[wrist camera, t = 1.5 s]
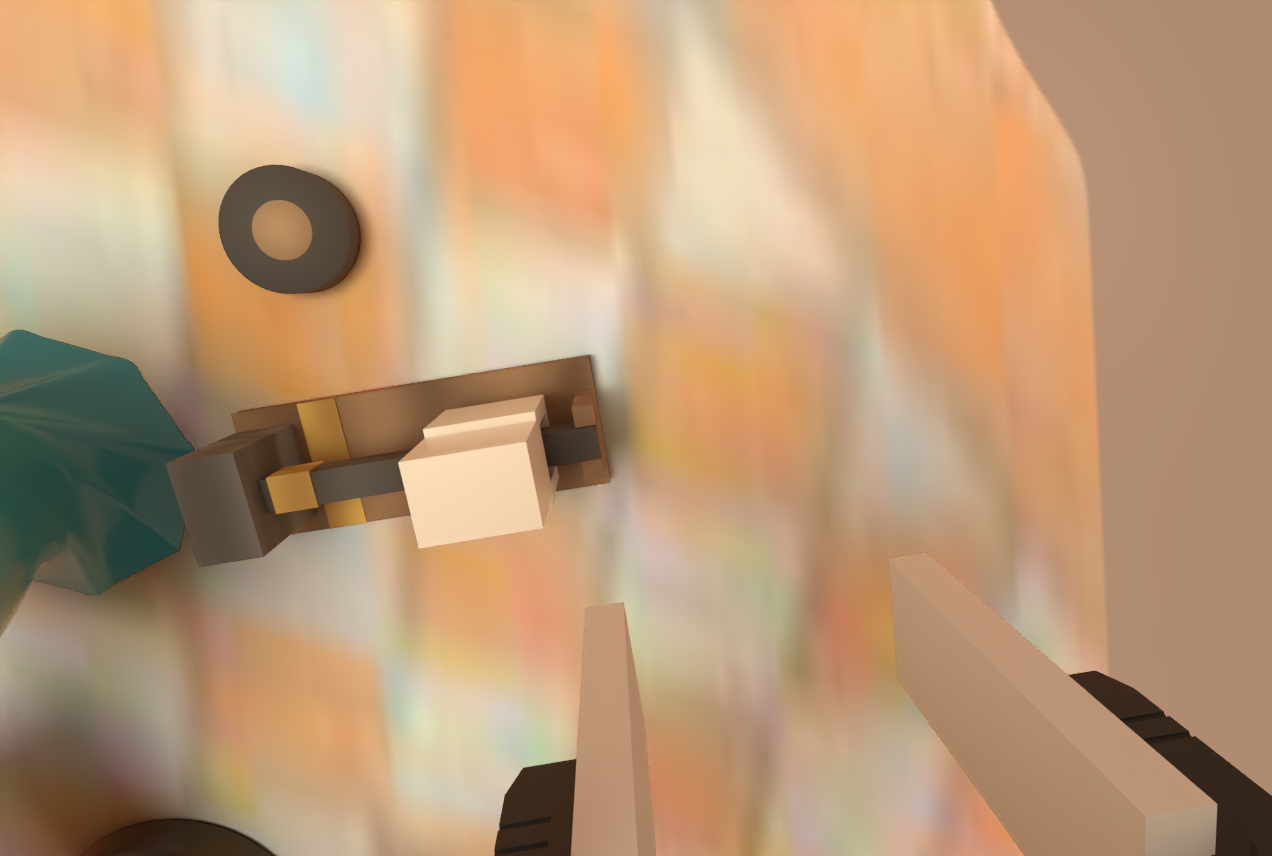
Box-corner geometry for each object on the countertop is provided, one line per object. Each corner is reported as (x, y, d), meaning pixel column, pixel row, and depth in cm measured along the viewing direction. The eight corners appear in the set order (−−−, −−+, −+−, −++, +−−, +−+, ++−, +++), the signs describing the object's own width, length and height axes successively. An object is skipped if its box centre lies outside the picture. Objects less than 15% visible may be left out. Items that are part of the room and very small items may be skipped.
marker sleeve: (463, 492, 35) (421, 557, 27) (445, 410, 34) (395, 452, 26) (558, 476, 35) (545, 537, 27) (543, 394, 34) (524, 431, 26)
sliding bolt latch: (276, 531, 38) (205, 587, 31) (241, 410, 37) (158, 441, 30) (610, 477, 38) (611, 520, 32) (589, 354, 37) (585, 372, 30)
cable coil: (258, 301, 36) (237, 302, 33) (225, 181, 34) (201, 175, 32) (372, 283, 36) (358, 283, 34) (343, 162, 34) (327, 155, 32)
